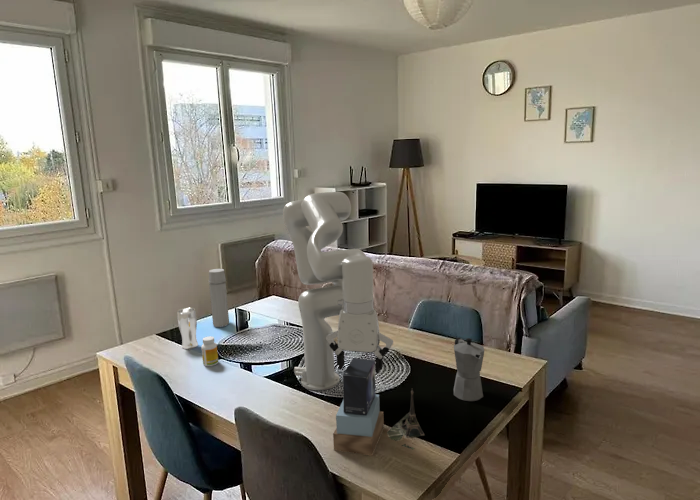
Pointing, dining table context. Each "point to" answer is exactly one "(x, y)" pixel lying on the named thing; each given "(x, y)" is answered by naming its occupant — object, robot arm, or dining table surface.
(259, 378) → the dining table surface
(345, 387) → the small box
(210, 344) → the supplement bottle
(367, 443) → the walnut slab
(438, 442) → the dining table surface
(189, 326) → the beer glass
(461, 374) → the coffeepot
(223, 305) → the water bottle
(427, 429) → the dining table surface
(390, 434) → the eiffel tower figurine
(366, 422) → the slate-blue block
